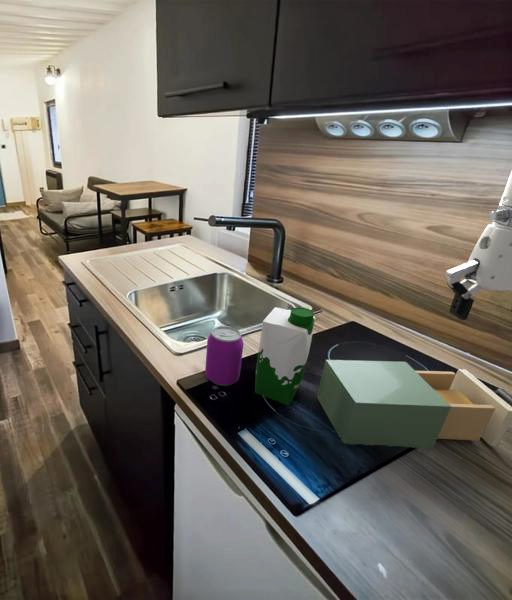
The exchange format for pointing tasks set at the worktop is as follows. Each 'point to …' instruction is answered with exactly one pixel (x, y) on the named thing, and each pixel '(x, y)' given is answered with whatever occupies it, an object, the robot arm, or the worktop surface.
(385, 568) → the worktop surface
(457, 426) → the drawer
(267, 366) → the milk carton
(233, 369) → the beverage can
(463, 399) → the block
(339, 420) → the cabinet
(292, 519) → the worktop surface
